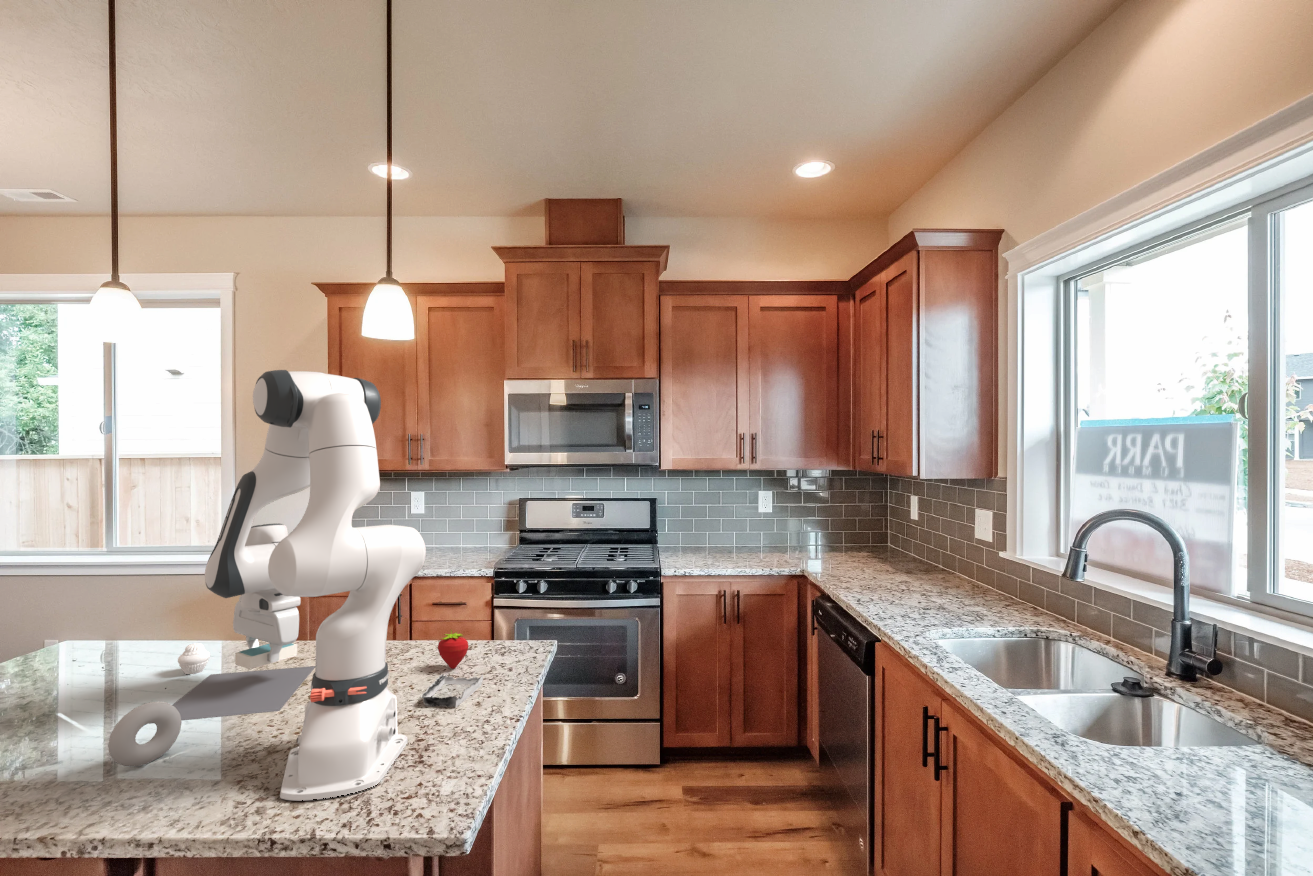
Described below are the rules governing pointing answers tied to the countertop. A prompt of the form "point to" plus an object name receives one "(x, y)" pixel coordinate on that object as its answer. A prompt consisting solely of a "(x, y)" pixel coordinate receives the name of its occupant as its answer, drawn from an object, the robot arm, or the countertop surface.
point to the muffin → (194, 658)
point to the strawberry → (453, 649)
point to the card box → (262, 655)
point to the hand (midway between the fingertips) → (263, 658)
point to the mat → (241, 693)
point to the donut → (127, 728)
